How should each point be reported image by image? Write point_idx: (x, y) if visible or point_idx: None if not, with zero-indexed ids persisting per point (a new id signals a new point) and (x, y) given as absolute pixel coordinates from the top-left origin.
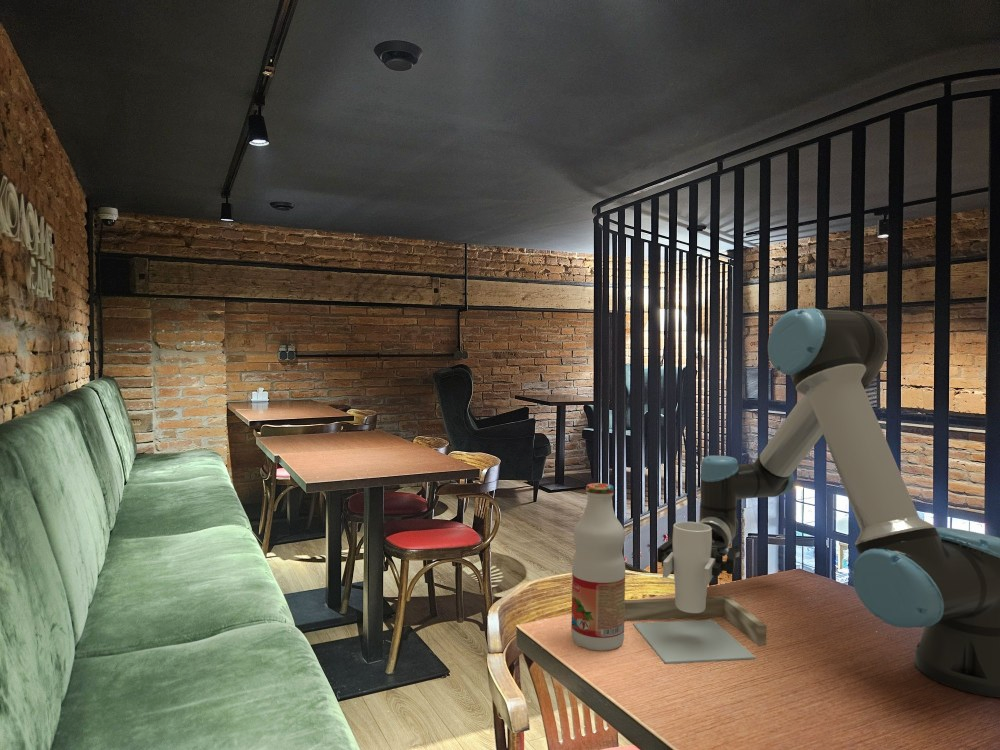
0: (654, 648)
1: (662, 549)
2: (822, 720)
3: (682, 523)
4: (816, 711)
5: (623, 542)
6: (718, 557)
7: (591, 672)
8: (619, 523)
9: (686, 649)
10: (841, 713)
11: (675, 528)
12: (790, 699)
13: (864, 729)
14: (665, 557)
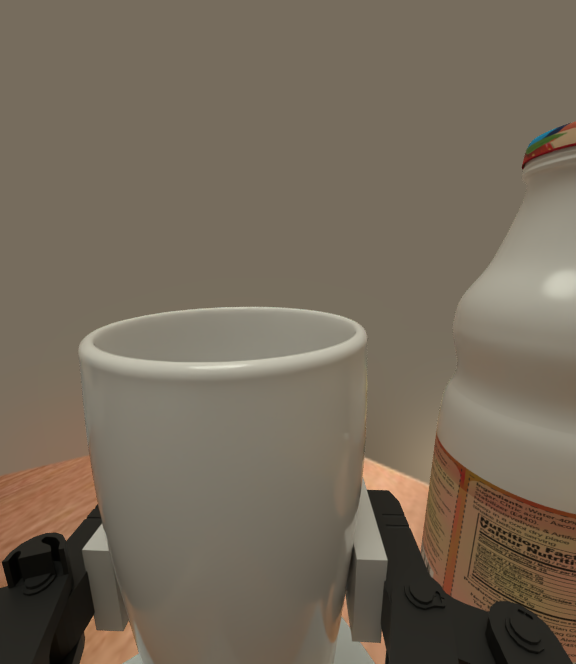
0: (342, 619)
1: (497, 620)
2: (63, 487)
3: (326, 358)
4: (54, 505)
5: (462, 340)
6: (57, 541)
7: (391, 482)
8: (496, 280)
9: None
10: (9, 514)
11: (326, 319)
12: (77, 523)
13: (11, 488)
14: (391, 520)
